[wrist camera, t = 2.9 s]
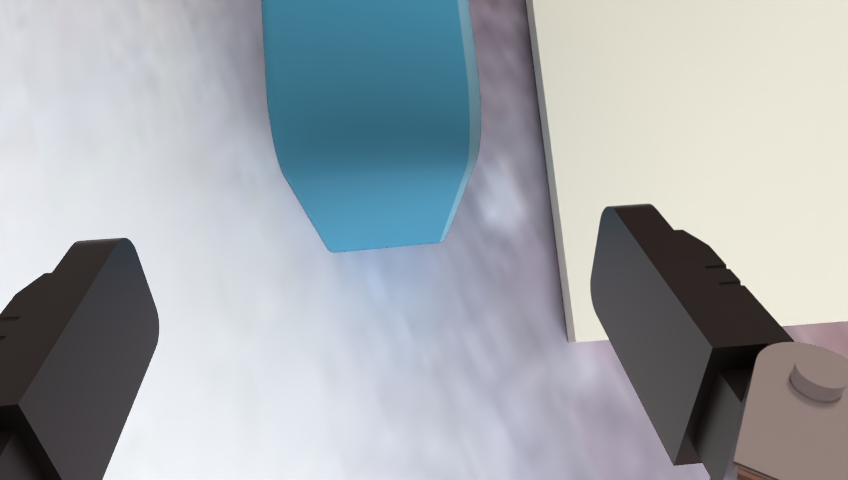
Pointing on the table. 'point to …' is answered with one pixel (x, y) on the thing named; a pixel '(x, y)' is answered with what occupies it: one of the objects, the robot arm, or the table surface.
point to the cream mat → (701, 138)
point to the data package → (373, 114)
